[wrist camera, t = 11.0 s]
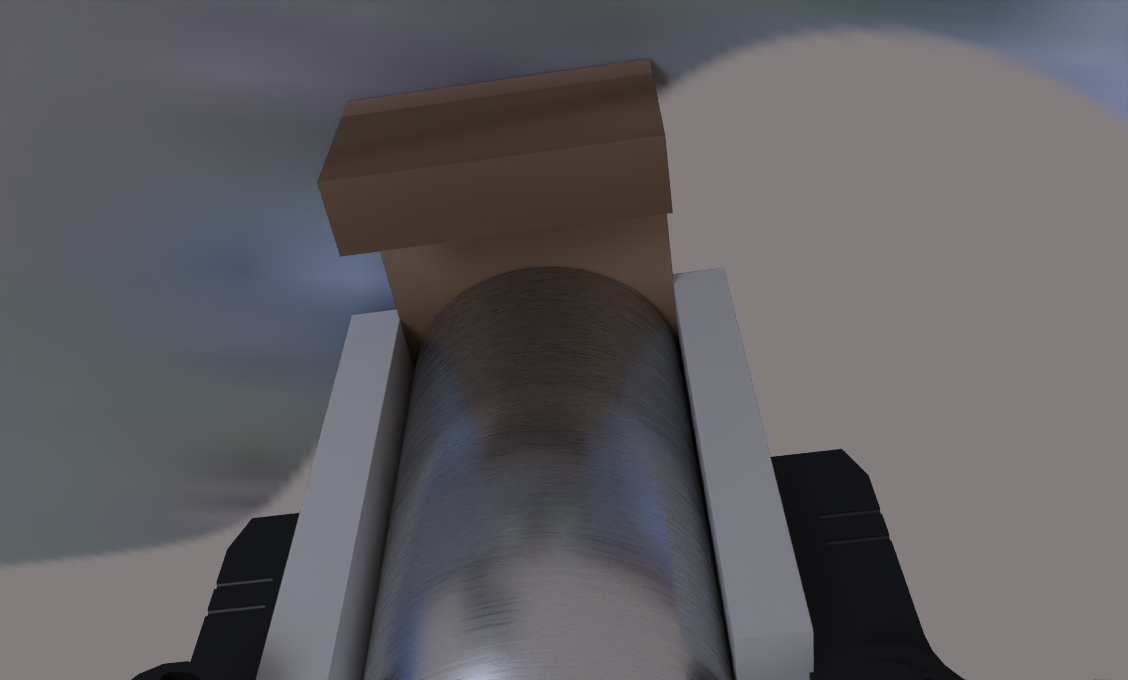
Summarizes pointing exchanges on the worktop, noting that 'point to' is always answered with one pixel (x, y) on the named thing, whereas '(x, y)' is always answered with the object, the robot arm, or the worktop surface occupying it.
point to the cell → (548, 496)
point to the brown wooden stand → (506, 185)
